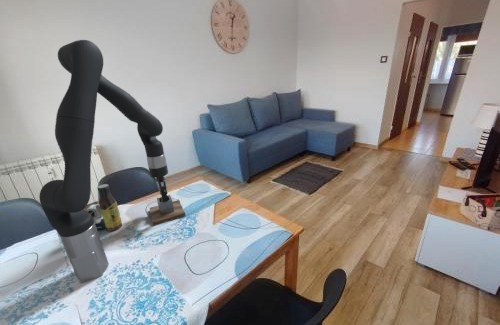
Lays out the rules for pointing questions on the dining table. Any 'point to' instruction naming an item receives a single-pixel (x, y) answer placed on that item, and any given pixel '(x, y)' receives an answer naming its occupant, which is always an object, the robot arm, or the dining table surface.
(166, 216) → the post board
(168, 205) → the grey hollow cube
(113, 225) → the sauce bottle
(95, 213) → the watch
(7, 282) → the dining table surface
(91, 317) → the dining table surface
